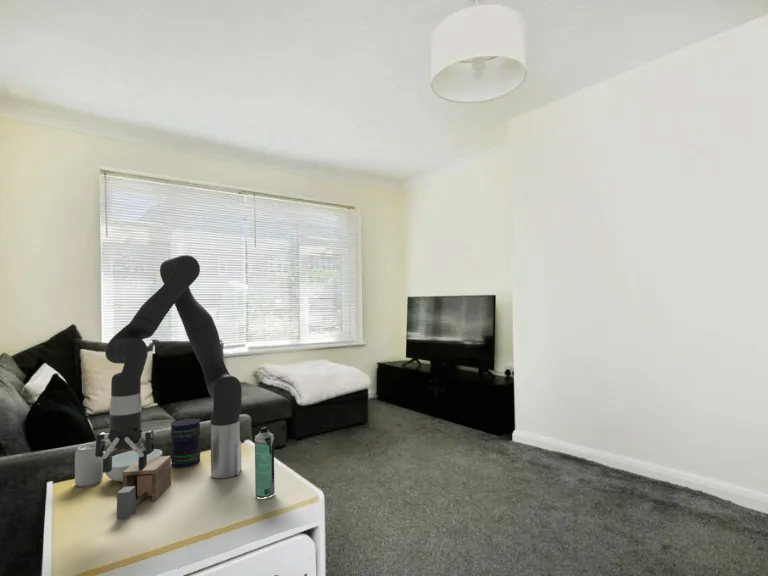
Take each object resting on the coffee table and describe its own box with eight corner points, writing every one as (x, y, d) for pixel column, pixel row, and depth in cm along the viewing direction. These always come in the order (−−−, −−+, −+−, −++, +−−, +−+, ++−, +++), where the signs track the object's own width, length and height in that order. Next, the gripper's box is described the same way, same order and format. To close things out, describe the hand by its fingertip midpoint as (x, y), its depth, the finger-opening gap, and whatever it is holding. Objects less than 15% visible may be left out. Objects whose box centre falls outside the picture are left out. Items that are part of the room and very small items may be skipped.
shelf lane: (170, 484, 138) (170, 455, 138) (155, 501, 126) (155, 469, 126) (141, 486, 137) (141, 457, 137) (122, 503, 125) (122, 472, 125)
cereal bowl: (132, 467, 154) (132, 447, 154) (173, 469, 151) (173, 449, 151) (91, 487, 137) (91, 464, 138) (136, 490, 134) (136, 467, 134)
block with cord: (161, 488, 135) (161, 465, 135) (132, 518, 116) (132, 491, 116) (144, 489, 134) (144, 466, 135) (112, 519, 115) (112, 493, 115)
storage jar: (167, 463, 157) (166, 422, 157) (194, 456, 163) (194, 416, 164) (175, 470, 150) (175, 427, 150) (204, 463, 156) (204, 421, 157)
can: (108, 478, 144) (108, 442, 144) (90, 488, 136) (90, 449, 137) (87, 478, 145) (87, 442, 145) (68, 487, 137) (69, 449, 138)
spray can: (278, 493, 129) (277, 425, 130) (266, 501, 124) (265, 430, 125) (264, 490, 131) (263, 424, 132) (251, 497, 126) (250, 429, 127)
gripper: (158, 406, 123) (157, 464, 123) (105, 408, 122) (104, 467, 121) (147, 412, 116) (146, 474, 115) (90, 415, 114) (89, 477, 113)
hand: (125, 470), depth 118 cm, fingers open, 8 cm apart
